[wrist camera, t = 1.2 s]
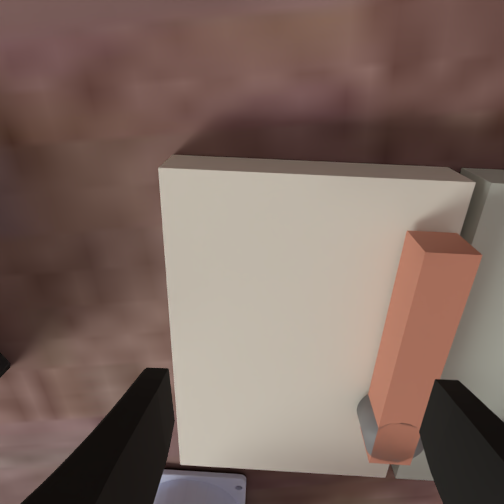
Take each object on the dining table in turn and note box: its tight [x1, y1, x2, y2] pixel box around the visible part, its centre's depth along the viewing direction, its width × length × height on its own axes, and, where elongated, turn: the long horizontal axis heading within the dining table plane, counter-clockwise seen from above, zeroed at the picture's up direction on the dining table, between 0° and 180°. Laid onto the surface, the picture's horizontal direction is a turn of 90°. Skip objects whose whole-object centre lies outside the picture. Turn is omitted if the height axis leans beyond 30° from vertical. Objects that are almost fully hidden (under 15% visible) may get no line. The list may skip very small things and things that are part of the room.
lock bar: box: [357, 231, 483, 465], centre depth 17 cm, size 12×3×2 cm, turn 178°
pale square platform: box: [158, 155, 504, 481], centre depth 18 cm, size 18×24×5 cm
